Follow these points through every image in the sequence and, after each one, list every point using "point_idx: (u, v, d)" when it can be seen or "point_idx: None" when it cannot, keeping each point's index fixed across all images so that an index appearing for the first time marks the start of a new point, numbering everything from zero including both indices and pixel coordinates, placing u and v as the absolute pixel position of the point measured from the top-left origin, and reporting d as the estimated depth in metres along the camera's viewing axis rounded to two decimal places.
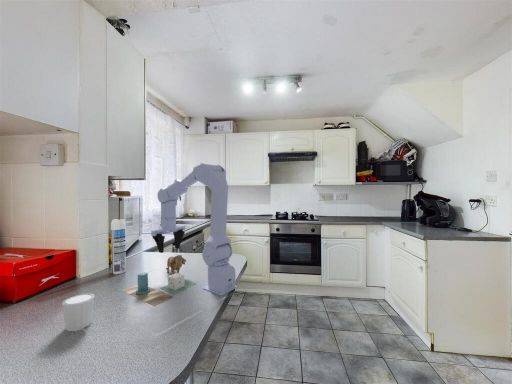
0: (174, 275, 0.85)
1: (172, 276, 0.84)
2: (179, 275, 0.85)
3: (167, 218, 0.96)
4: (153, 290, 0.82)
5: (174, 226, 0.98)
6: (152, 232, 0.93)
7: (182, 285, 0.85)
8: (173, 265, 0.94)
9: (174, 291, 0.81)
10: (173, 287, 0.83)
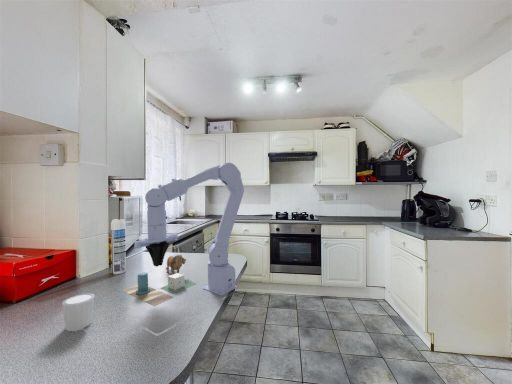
0: (174, 275, 0.85)
1: (172, 276, 0.84)
2: (179, 275, 0.85)
3: (155, 226, 0.77)
4: (153, 290, 0.82)
5: (164, 235, 0.79)
6: (135, 244, 0.74)
7: (182, 285, 0.85)
8: (173, 265, 0.94)
9: (174, 291, 0.81)
10: (173, 287, 0.83)
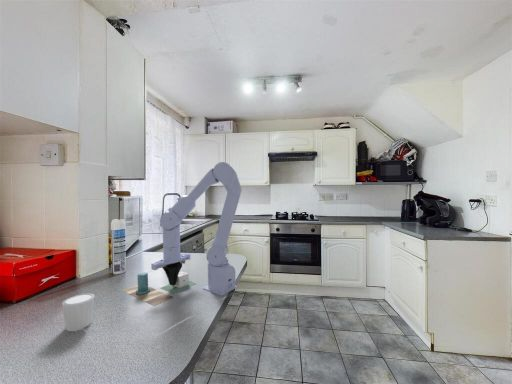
0: None
1: None
2: (183, 273, 0.87)
3: (170, 248, 0.81)
4: (153, 290, 0.82)
5: (178, 256, 0.83)
6: (152, 265, 0.78)
7: (186, 283, 0.87)
8: None
9: (174, 291, 0.81)
10: (177, 285, 0.85)
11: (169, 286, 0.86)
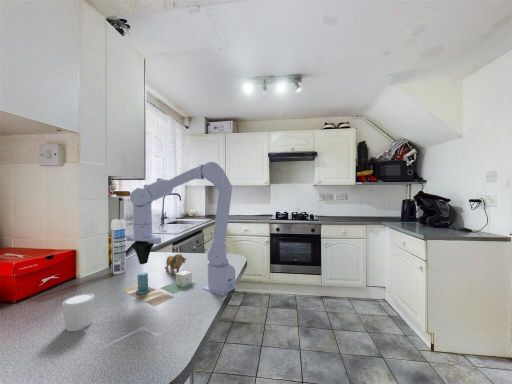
0: (182, 272, 0.88)
1: (180, 273, 0.87)
2: (186, 272, 0.88)
3: None
4: (153, 290, 0.82)
5: (137, 235, 0.79)
6: None
7: (189, 282, 0.88)
8: (173, 264, 0.95)
9: (174, 291, 0.81)
10: (181, 284, 0.86)
11: (169, 286, 0.86)
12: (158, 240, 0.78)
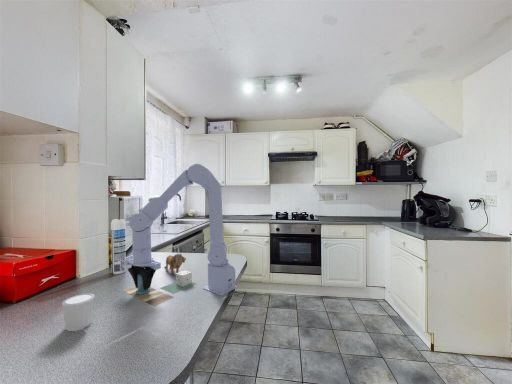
0: (182, 272, 0.88)
1: (180, 273, 0.87)
2: (186, 272, 0.88)
3: None
4: (153, 290, 0.82)
5: (137, 261, 0.79)
6: None
7: (189, 282, 0.88)
8: (173, 263, 0.96)
9: (174, 291, 0.81)
10: (181, 284, 0.86)
11: (169, 286, 0.86)
12: (157, 265, 0.78)
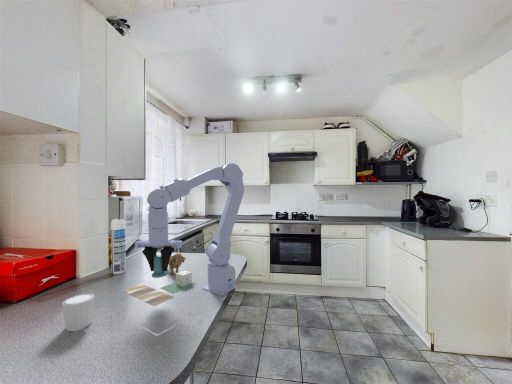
0: (182, 272, 0.88)
1: (180, 273, 0.87)
2: (186, 272, 0.88)
3: (149, 228, 0.73)
4: (153, 290, 0.82)
5: (157, 240, 0.73)
6: None
7: (189, 282, 0.88)
8: (173, 263, 0.96)
9: (174, 291, 0.81)
10: (181, 284, 0.86)
11: (169, 286, 0.86)
12: (180, 243, 0.75)
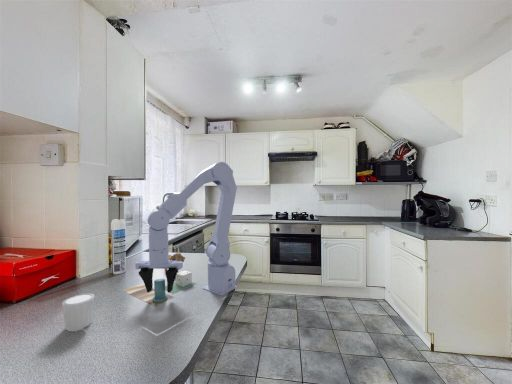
0: (182, 272, 0.88)
1: (180, 273, 0.87)
2: (186, 272, 0.88)
3: (149, 250, 0.74)
4: (153, 290, 0.82)
5: (157, 262, 0.73)
6: None
7: (189, 282, 0.88)
8: None
9: (174, 291, 0.81)
10: (181, 284, 0.86)
11: None
12: (181, 264, 0.75)
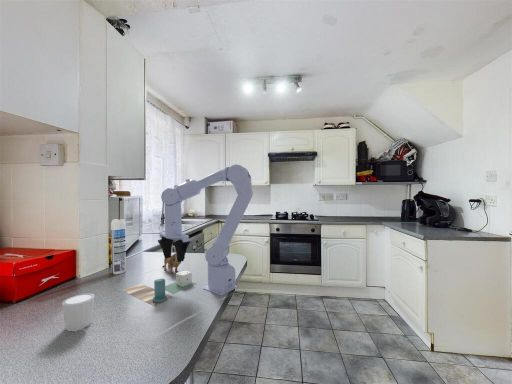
0: (182, 272, 0.88)
1: (180, 273, 0.87)
2: (186, 272, 0.88)
3: None
4: (153, 290, 0.82)
5: (168, 233, 0.83)
6: None
7: (189, 282, 0.88)
8: (172, 262, 0.97)
9: (174, 291, 0.81)
10: (181, 284, 0.86)
11: (169, 286, 0.86)
12: (186, 238, 0.81)
